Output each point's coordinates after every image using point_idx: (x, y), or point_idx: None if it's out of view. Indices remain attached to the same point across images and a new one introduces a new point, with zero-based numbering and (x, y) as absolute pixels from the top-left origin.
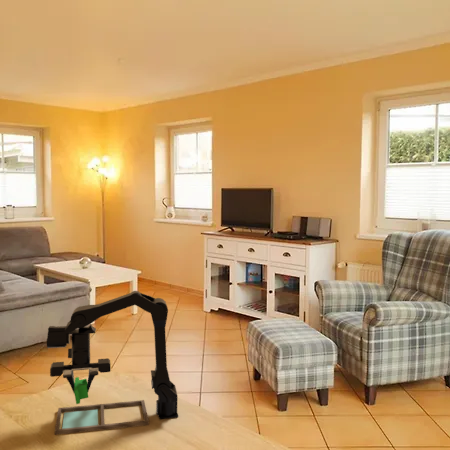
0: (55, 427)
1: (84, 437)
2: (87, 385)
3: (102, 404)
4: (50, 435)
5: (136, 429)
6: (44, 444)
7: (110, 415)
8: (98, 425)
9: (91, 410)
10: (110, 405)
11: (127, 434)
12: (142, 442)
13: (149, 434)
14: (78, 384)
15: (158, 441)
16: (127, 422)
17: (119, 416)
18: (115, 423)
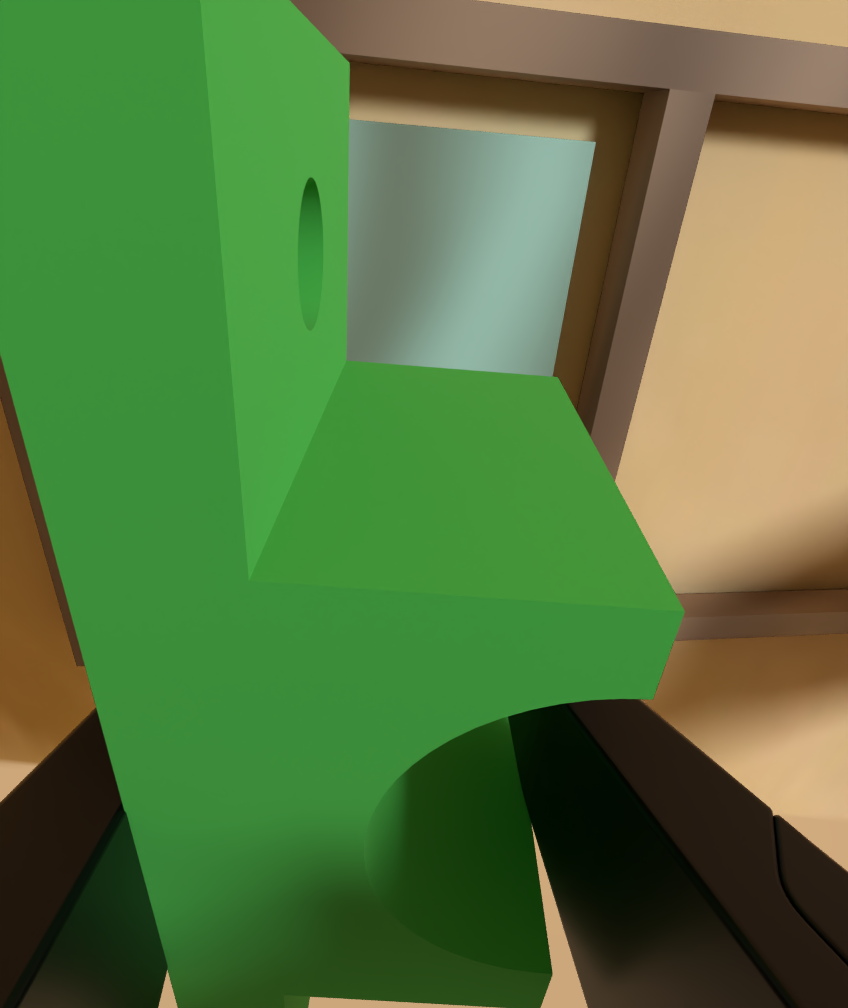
0: (61, 604)
1: None
2: (567, 930)
3: (706, 59)
4: (47, 640)
5: (793, 653)
6: (41, 754)
7: (697, 354)
8: None
9: (501, 151)
10: (804, 107)
11: (701, 703)
12: (746, 787)
13: (834, 719)
14: (289, 907)
15: (834, 786)
16: (777, 621)
17: (774, 404)
18: None
